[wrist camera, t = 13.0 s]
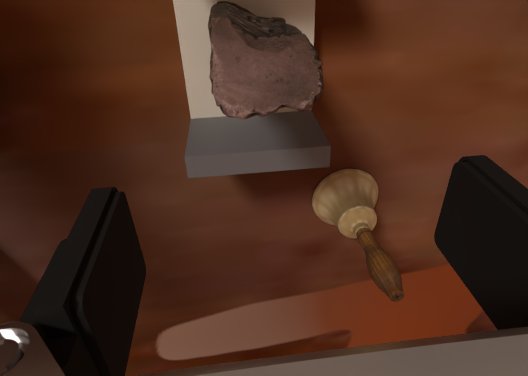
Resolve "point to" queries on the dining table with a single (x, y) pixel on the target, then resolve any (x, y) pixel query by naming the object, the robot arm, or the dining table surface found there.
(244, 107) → the statue
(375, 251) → the hand bell
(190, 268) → the dining table surface
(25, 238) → the dining table surface
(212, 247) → the dining table surface
